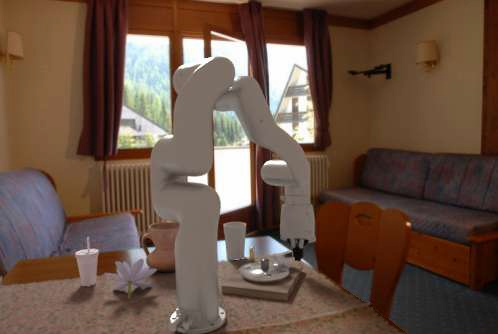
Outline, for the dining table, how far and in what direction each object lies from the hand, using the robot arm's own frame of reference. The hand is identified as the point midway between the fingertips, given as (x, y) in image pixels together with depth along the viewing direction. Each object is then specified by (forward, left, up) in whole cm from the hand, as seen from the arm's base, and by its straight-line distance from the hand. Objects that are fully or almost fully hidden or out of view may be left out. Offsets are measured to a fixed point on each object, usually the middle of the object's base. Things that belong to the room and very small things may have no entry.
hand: (298, 259), depth 112 cm
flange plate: (-7, +7, -2) cm, 10 cm away
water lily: (-26, +41, -5) cm, 48 cm away
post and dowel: (-5, +11, -2) cm, 12 cm away
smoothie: (-24, +57, -5) cm, 62 cm away
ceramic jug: (-5, +42, -5) cm, 43 cm away
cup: (+10, +24, -5) cm, 26 cm away
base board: (-8, +8, -4) cm, 13 cm away
